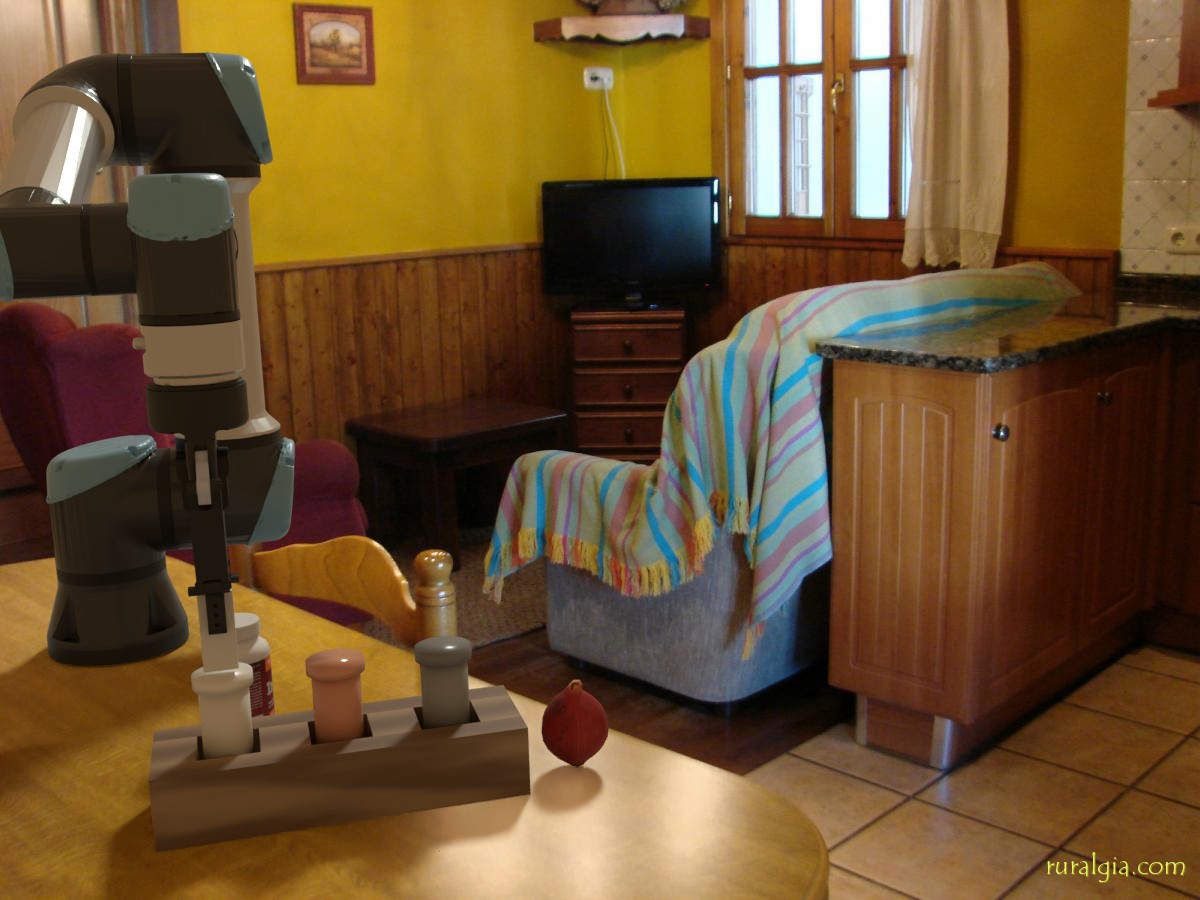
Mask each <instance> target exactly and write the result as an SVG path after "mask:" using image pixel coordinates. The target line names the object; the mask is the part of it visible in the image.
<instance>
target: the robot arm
mask: <svg viewBox="0 0 1200 900" xmlns="http://www.w3.org/2000/svg"><path fill="white" fill-rule="evenodd" d="M11 130H12V131H11V132H12V133H11V134H12V137H13V142H14V145H13V148H12V150H11V153H10V157H9V158H8V161H7V163H6V165H5V168H4V172H3V174H2V176H1V179H0V301H1V302H3V303H12V301H13V302H14V301H27V300H28V301H31V300H47V299H62V298H63V299H64V298H65V299H67V298H84V297H85V298H86V297H99V296H100V297H107V296H110V297H111V296H131V295H132V296H134V295H136V298H137V307H138V323H139V326H140V327H139V332H140V334H142V335H143V336H137V337H133V339H132V343H131V344H132V348H133V349H135V350H139V351H140V350H145V352H144V353H143V354H142V364H143V373H144V375H146V376H147V377H149V378H152V379H153V381H151V382H148V383H147V385H146V387H144V390H145V391H144V392H145V401H146V411H147V412H146V413H147V421H148V422H147V423H148V426H149V429H150V430H152V431H153V432H155V433H159V434H163V435H173V436H174V446H173V447H166V448H165V447H164V448H163V447H162V448H159V447H158V448H157V442H156V441H155V439H154V437H152V436H151V435H149V434H137V435H124V436H116V437H111V438H105V439H102V440H96V441H92V442H88V443H84V444H81V445H78V446H75V447H73V448H70V449H67V450H65V451H63V452H61V453H58V454H57V455H56V456H55V457H53V458H52V459H51V461H49V463H48V465H47V467H46V473H45V474H46V492H47V494H46V495H47V496H46V498H45V501H46V504H47V505H48V511H49V520H50V528H51V537H52V543H53V544H52V545H53V553H54V554H53V555H54V561H55V563H54V564H55V569H56V578H57V579H56V580H57V581H56V582H57V590H56V593H55V594H56V595H55V597H54V602H53V607H52V609H51V610H52V611H51V615H50V618H49V619H50V620H49V624H48V627H47V628H48V629H47V631H46V632H47V633H46V641H47V651H48V656H49V657H50V659H51V660H53V661H55V662H56V663H60V664H64V665H66V666H67V665H68V666H72V667H73V666H74V667H108V666H119V665H125V664H132V663H137V662H140V661H143V660H144V661H145V660H148V659H153V658H155V657H158V656H162V655H165V654H167V653H168V652H171V651H173V650H175V649H177V648H178V647H181V646H182V645H184V643H186V642H187V640H188V639H189V636H190V628H189V627H190V626H189V621H188V620H189V619H188V615H187V611H185V608H184V606H183V604H182V601H181V599H180V597H179V594H178V593H177V590H176V588H175V587H174V586H175V585H174V584H173V582H172V579H171V577H170V575H169V573H168V567H167V558H166V552H170V551H171V552H172V551H181V550H192V555H193V561H194V562H193V563H194V564H193V565H194V566H193V567H194V572H195V575H194V576H195V583H194V585H193V586H187V596H188V598H189V597H196V602H197V603H196V604H197V611H198V613H197V614H198V615H197V616H198V624H199V626H198V627H199V633H200V634H199V635H200V644H201V647H200V648H201V656H202V667H203V669H204V673H205V672H214V671H222V670H230V669H239V662H238V651H237V639H236V628H235V616H234V613H235V605H234V596H233V595H234V594H233V586H232V584H236V583H240V577H239V576H240V574H239V572H237V573H232V572H231V571H230V566H231V559H230V558H229V557H228V555H229V553H228V546H239V545H245V546H246V547H249V546H252V544H259V543H265V542H266V543H267V542H272V541H273V542H274V541H278V540H281V539H282V538H284V537H285V536H286V535H287V534H288V532H289V530H290V527H291V521H292V511H293V502H294V501H293V499H294V485H295V484H294V480H295V457H296V452H295V451H296V449H295V448H296V446H295V445H296V444H295V441H294V440H293V439H291V438H288V437H283V438H282V433H281V432H282V431H281V430H282V429H281V423H280V422H279V421H278V420H276V419H275V418H274V417H273V415H270V414H269V413H268V411H267V410H266V401H265V389H264V377H263V364H262V353H261V351H262V350H261V338H260V327H259V315H258V314H259V313H258V303H257V301H258V300H257V288H256V275H255V266H254V265H255V262H254V252H253V239H252V238H253V236H252V226H251V225H252V224H251V212H250V199H249V198H250V195H251V193H252V192H253V191H254V190H255V189H256V188H257V186H258V185H259V184H260V183H261V182H262V173H261V172H262V170H261V165H264V166H266V165H267V164H271V163H272V162H273V161H274V156H273V155H274V154H273V151H272V149H273V148H272V145H271V142H270V137H269V127H268V124H267V120H266V115H265V111H264V105H263V100H262V94H261V91H260V86H259V81H258V77H257V74H256V69H255V67H254V65H253V64H252V62H251V61H250V59H248V58H246V57H245V56H242V55H240V54H231V53H221V52H220V53H219V52H218V53H217V52H210V51H205V52H174V53H173V52H171V53H168V52H166V53H117V52H116V53H100V54H95V55H90V56H86V57H83V58H80V59H77V60H74V61H71V62H68V63H67V64H65V65H63V66H61V67H59V68H56V69H55V70H53V71H52V72H50V73H49V74H48V73H47V75H45V76H44V77H42V78H41V79H39V80H38V81H36V82H35V83H34V84H33V85H31V87H30V88H29V89H28V90H27V91H26V92H25V93H24V94H23V96H22V97H21V99H20V101H19V102H18V105H17V107H16V109H15V112H14V115H13V118H12V125H11ZM104 167H105V168H106V167H148V168H149V174H139V175H136V176H134V177H133V178H131V179H130V180H129V182H128V184H127V188H126V189H127V191H126V192H127V202H126V201H125V202H106V203H105V202H104V203H103V202H102V203H101V202H100V203H91V202H90V201H91V198H92V193H93V191H94V190H93V189H94V184H95V181H96V176H97V173H98V172H99V171H100V170H101V169H102V168H104Z"/></svg>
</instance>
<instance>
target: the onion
mask: <svg viewBox="0 0 1200 900" xmlns="http://www.w3.org/2000/svg"><path fill="white" fill-rule="evenodd" d="M609 729H610V727H609V721H608V717H607V714H606V711H605V708H604V707H603V705H602V704H601V703H600V701H599V700H598V699H596V697H594V696H593V695H592V694H590V693H589V692H587V691H585V690H584V689H583V683H582V681H581V680H580V679H572V681H570V683H569V684H568V685H567V686H566V687H565V689H564V690H562V691H560V692H559V693H558V694H556V695H555V696H554V697H553V698H552V699H551V700H550V701H549V703H548V704H547V705H546V708H545V709H544V711H543V715H542V719H541V738H542V742H543V743H544V745H545V748H546V749H547V750H548V751H549V752H550V753H551V754H552V755H553V756H555V757H556V758H557V759H558V760H560V761H562V762H564V763H566V764H568V765H569V766H572V767H574V768H580V767H582V766H584V765H585V764H586V762H588V761H589V760H590V759H591V758H593V757H594V756H596V755H597V753H599V751H601V750H602V748H603V747H604V746H605V743H606V741H607V740H608V737H609Z"/></svg>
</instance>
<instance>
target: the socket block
mask: <svg viewBox="0 0 1200 900" xmlns="http://www.w3.org/2000/svg"><path fill="white" fill-rule="evenodd" d="M362 704H363V719H364V734H365V738H359V739H352V740H345V741H338V742H330V743H323V744H316V733H315V720H314V709H308V710H300V711H294V712H292V711H291V712H284V713H278V714H276V713H275V715H268V716H261V717H253V718H252V728H253V740H254V751H255V753H250V754H243V755H236V756H228V757H221V758H214V759H207V760H204V753H203V742H202V732H201V723H200V724H192V725H187V726H185V725H184V726H177V727H172V728H171V727H170V728H162V729H154V730H153V736H152V737H153V738H152V745H151V754H150V762H149V763H150V764H149V772H148V779H147V780H148V781H147V782H148V790H149V791H148V792H149V799H150V800H149V801H150V809H151V817H152V818H151V820H152V827H153V829H152V830H153V840H154V848H155V853H158V852H164V851H165V852H166V851H172V850H179V849H185V848H191V847H197V846H198V847H199V846H204V845H210V844H218V843H225V842H231V841H237V840H243V839H249V838H258V837H263V836H271V835H276V834H282V833H288V832H296V831H302V830H303V831H304V830H309V829H314V828H321V827H328V826H334V825H341V824H347V823H354V822H361V821H367V820H373V819H380V818H385V817H387V818H388V817H394V816H399V815H405V814H411V813H419V812H426V811H431V810H437V809H438V810H439V809H446V808H452V807H458V806H459V807H460V806H466V805H470V804H471V805H472V804H477V803H484V802H492V801H496V800H503V799H511V798H517V797H523V796H529V795H531V794H532V793H531V792H532V791H531V789H532V788H531V769H530V768H531V767H530V744H529V743H530V741H529V727H528V724H527V723H526V722H525V720H524V718H523V717H522V715H521V713H520V711H519V709H518V707H517V706H516V704H515V703H514V701H513V699H512V698H511V695H510V694H509V692H508V691H507V689H506V687H505V685H504V684H501V685H500V684H499V685H492V686H484V687H476V688H469V704H470V723H469V724H461V725H454V726H447V727H440V728H432V729H425V730H424V727H423V709H422V695H417V696H416V695H415V696H407V697H400V698H399V697H398V698H392V699H386V700H385V699H383V700H377V701H369V702H362Z"/></svg>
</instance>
